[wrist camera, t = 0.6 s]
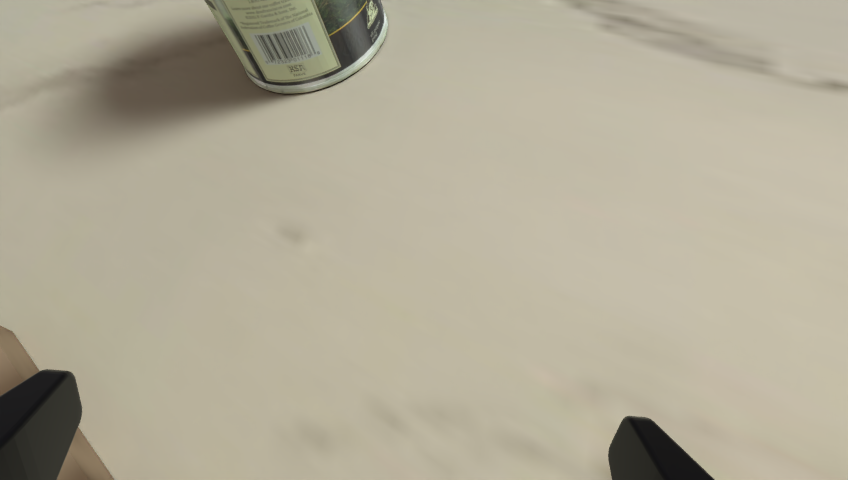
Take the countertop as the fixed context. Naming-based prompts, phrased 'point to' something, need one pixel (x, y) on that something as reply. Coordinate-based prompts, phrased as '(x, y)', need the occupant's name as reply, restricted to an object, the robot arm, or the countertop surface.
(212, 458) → the countertop surface
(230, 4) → the coffee can
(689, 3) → the countertop surface
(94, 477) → the board
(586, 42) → the countertop surface
